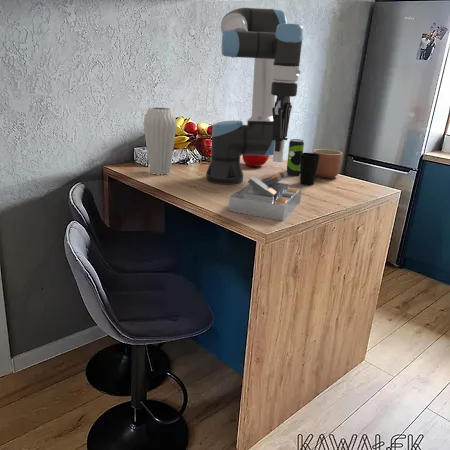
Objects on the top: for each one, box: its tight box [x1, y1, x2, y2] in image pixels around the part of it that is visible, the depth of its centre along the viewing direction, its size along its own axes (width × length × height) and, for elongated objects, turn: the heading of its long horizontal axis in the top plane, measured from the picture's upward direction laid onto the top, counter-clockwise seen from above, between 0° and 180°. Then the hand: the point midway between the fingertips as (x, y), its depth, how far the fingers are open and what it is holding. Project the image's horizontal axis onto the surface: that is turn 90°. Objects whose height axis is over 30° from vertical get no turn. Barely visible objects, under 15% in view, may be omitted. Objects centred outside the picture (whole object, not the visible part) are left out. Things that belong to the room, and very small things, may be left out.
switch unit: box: [228, 181, 302, 222], centre depth 153 cm, size 18×22×6 cm
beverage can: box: [286, 138, 305, 177], centre depth 198 cm, size 6×6×15 cm
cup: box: [299, 152, 320, 187], centre depth 184 cm, size 8×8×12 cm
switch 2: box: [247, 175, 277, 197], centre depth 144 cm, size 9×4×2 cm, turn 67°
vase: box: [143, 106, 177, 174], centre depth 186 cm, size 13×13×26 cm
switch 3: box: [260, 169, 288, 182], centre depth 157 cm, size 9×4×2 cm, turn 67°
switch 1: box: [253, 174, 283, 188], centre depth 151 cm, size 9×4×2 cm, turn 67°
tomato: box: [241, 155, 270, 167], centre depth 211 cm, size 13×12×11 cm
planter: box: [312, 148, 343, 179], centre depth 198 cm, size 12×12×11 cm
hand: (277, 161), depth 141 cm, fingers closed
